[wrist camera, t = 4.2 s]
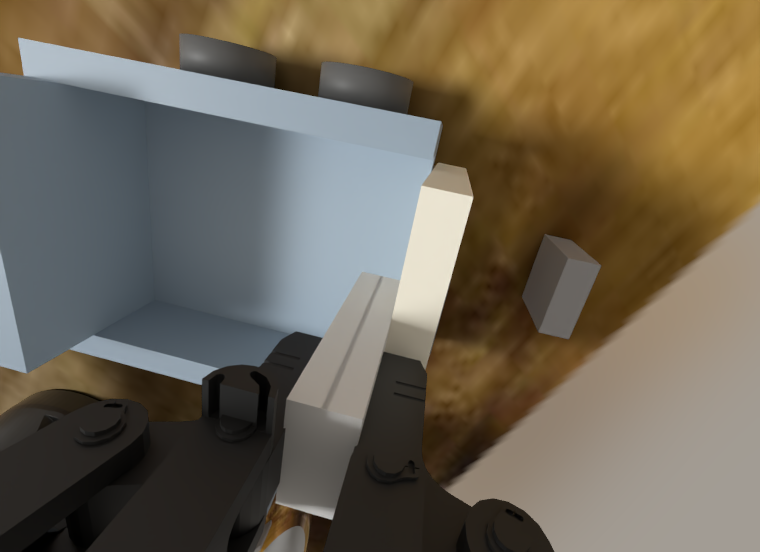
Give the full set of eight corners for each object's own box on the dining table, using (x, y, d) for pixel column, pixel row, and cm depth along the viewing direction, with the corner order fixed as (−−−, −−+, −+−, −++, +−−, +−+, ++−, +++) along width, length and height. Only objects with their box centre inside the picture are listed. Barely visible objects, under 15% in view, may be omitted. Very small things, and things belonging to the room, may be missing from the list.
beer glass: (368, 417, 28) (293, 695, 14) (311, 460, 31) (200, 731, 17) (299, 356, 27) (146, 590, 13) (245, 405, 30) (70, 645, 16)
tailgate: (392, 357, 20) (353, 488, 12) (438, 162, 16) (421, 185, 9) (420, 364, 20) (397, 502, 12) (473, 169, 16) (487, 199, 8)
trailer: (187, 300, 27) (6, 418, 16) (183, 42, 21) (-116, -61, 10) (514, 383, 25) (570, 582, 14) (616, 125, 19) (861, 114, 8)
